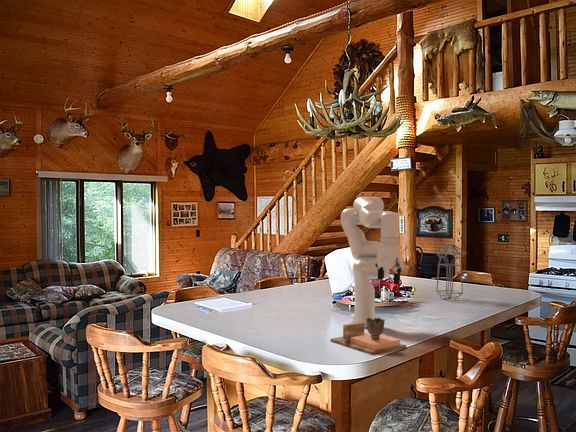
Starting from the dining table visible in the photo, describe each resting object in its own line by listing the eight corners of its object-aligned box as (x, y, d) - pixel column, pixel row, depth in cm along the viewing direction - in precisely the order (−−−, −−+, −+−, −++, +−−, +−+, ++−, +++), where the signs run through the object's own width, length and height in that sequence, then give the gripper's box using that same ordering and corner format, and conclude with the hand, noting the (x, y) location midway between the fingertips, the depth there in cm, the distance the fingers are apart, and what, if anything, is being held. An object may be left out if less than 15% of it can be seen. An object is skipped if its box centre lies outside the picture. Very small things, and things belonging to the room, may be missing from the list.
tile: (374, 344, 202) (374, 350, 202) (399, 339, 210) (399, 345, 210) (350, 337, 213) (350, 343, 213) (375, 332, 221) (375, 338, 221)
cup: (382, 336, 215) (382, 317, 215) (386, 340, 208) (386, 320, 208) (364, 336, 215) (364, 317, 215) (367, 340, 208) (368, 320, 208)
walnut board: (330, 341, 220) (330, 324, 220) (363, 335, 231) (363, 319, 231) (372, 354, 199) (372, 336, 199) (406, 347, 210) (406, 330, 210)
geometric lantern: (431, 298, 328) (432, 243, 328) (450, 297, 334) (451, 243, 335) (448, 302, 313) (449, 244, 314) (468, 301, 320) (469, 244, 320)
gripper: (369, 239, 228) (368, 278, 229) (397, 243, 213) (396, 284, 214) (381, 239, 232) (381, 277, 233) (410, 242, 217) (409, 283, 218)
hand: (388, 280), depth 223 cm, fingers open, 9 cm apart
